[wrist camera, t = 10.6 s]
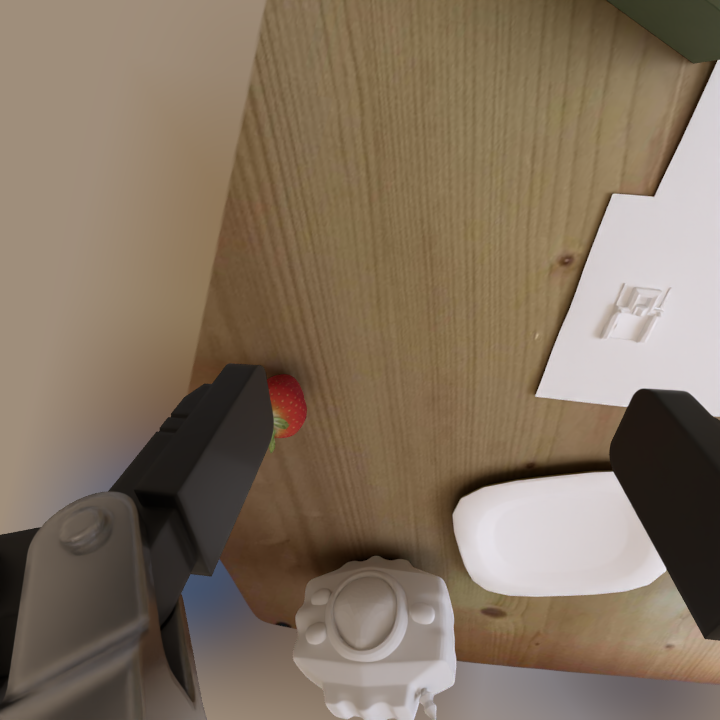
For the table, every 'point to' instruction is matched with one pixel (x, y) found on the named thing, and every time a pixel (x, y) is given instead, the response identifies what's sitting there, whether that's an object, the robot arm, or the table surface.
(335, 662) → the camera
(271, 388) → the fruit
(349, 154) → the table surface
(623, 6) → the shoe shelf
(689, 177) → the paper
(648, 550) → the plate
